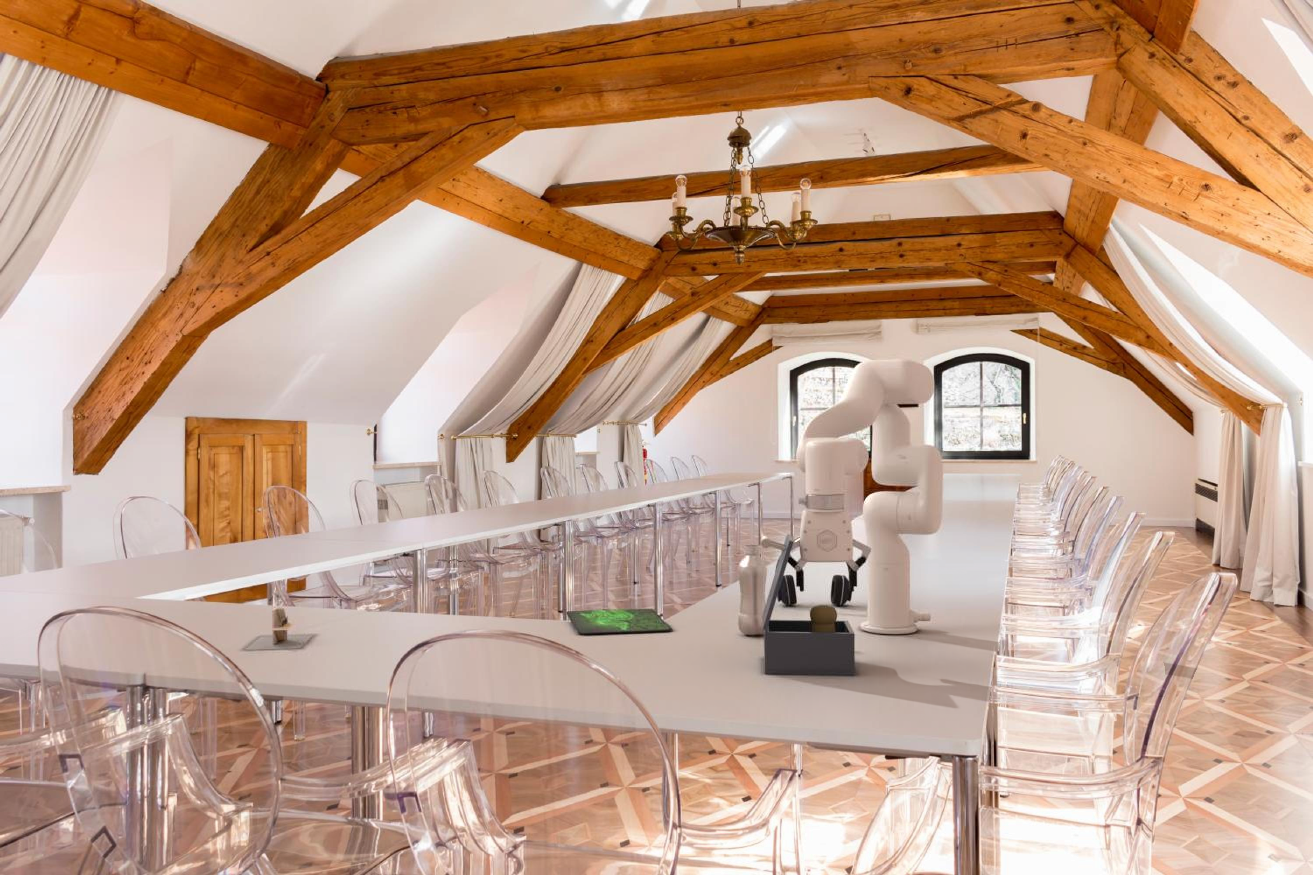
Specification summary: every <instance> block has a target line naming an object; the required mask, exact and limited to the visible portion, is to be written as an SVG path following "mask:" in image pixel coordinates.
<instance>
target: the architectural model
mask: <svg viewBox="0 0 1313 875" xmlns="http://www.w3.org/2000/svg"><path fill="white" fill-rule="evenodd" d="M271 612H272V614H271V615H272V623H271V624H272V625H271V626H272V630H271V631H272V635H261V636H260V637H259V638H257V639H256V640H255V641H254V642H252V643H251V644H250V645H248V646H247V647H246V648H245V649H244V651H260V650H261V651H262V650H292V649H293V650H294V649H301V648H302V647H304V646H305V644H306V643H307V642H308V641H309V640H310V639H311V638H312V637H314V634H297V635H296V634H295V635H288V630H290V629H291V628H292V627H293V626H294V625H295V622H288V621H289V617H288V615H286V611H285V608H284V607H283V608H282V607H281V608H280V606H279V605H278V606H277V607H275V608H273V609H272V611H271Z"/></svg>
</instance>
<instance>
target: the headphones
mask: <svg viewBox="0 0 1313 875" xmlns="http://www.w3.org/2000/svg"><path fill="white" fill-rule="evenodd" d="M798 539H800V536H799V537H797V538H795V539H793V542H794V541H796V540H798ZM780 556H781V554H780V555H779V557H778V559H777V562H776V565H775V570H774V573H775V572H776V569H777V566H778V562H779V559H780ZM845 564H846V566H847V571H848V573H849V570H850V566H849V565H848V563H847V562H845ZM830 586H831V587H830V603H831V604H832V605H835V606H842V607H843V606H844V605H845V604H846V603H848V602H849V603H850V602H851V601H852V596H853V592H851V591H850V590H849V578H847V576H846V575H844V574H842V575H841V574H834V575H833V576H832V580H831V584H830ZM797 598H798V597H797V590H796V582H795V579H794V576H793V575H792V574H784V575H783V579H782V582H781V585H780V589H779V592H778V595H777V598H776V600H777V602H778V603H780V602H781V603H782V604H784V606H786V607H788V606H794V605H796V604H797V603H798V599H797Z"/></svg>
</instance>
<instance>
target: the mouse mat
mask: <svg viewBox="0 0 1313 875" xmlns="http://www.w3.org/2000/svg"><path fill="white" fill-rule="evenodd" d="M566 616H567V617H568V619H569V621H570V623H571V624H572V627H573V628H574V629H575V631H576V633H577V634H579V635H608V634H611V635H612V634H637V633H639V634H641V633H664V632H671V631H672V630H673V628H672V627H671V625H669V624H668V623H666V621H665V620H664V619H663V618H661V616H660V615H659V614H658V613H657V612H656V611H655V609H653V608H623V609H594V610H593V609H591V610H569V611H566Z"/></svg>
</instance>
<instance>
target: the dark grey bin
mask: <svg viewBox="0 0 1313 875" xmlns="http://www.w3.org/2000/svg"><path fill="white" fill-rule="evenodd" d="M812 625H813V622H812V621H811V619H809V620H808V619H770V622H769V625H768V628H767V630H764V634H763V663H764V664H763V665H764V674H765V675H799V676H800V675H801V676H805V675H807V676H855V675H856V674H855V673H856V668H855V665H856V663H855V662H856V659H855V658H856V656H855V654H856V653H855V652H856V649H855V648H856V647H855V646H856V644H855V643H856V641H855V640H856V638H855V637H856V636H855V634H856V633H855V632H854V630H853V628H852V626H851V624H850V622H849V620H836V621H835V623H834V626H835V633H827V632H812Z"/></svg>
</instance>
